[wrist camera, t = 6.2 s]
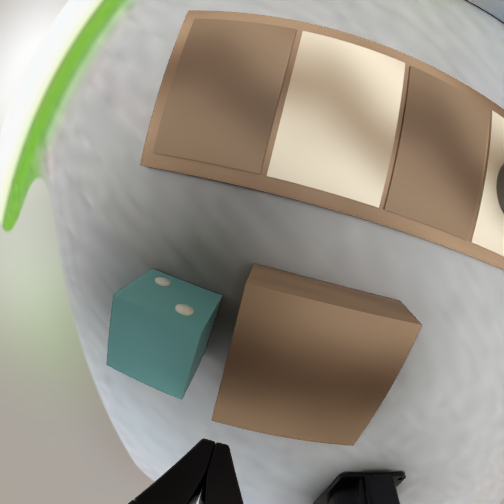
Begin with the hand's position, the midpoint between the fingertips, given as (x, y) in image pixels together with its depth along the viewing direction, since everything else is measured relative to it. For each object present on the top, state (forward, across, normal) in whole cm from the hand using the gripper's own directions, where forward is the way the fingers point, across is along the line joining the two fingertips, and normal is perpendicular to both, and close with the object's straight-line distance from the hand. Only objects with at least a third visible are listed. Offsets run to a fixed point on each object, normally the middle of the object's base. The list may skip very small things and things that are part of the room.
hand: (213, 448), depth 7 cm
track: (+8, -4, -12) cm, 15 cm away
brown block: (+8, -3, 0) cm, 9 cm away
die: (+6, +2, 0) cm, 6 cm away
